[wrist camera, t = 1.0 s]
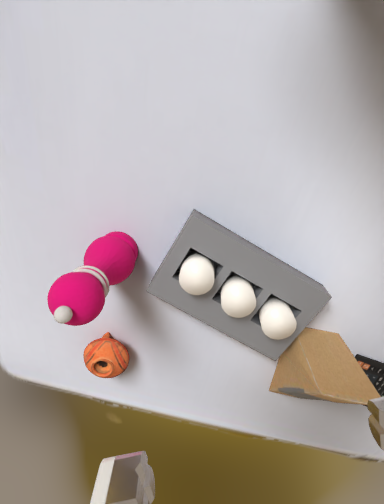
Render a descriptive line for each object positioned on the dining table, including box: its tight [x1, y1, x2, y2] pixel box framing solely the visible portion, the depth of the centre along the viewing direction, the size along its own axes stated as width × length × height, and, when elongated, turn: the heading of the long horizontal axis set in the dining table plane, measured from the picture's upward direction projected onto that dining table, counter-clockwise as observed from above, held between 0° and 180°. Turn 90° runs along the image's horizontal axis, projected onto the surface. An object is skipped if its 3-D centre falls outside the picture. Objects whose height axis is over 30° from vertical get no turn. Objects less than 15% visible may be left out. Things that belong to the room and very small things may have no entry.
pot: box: [84, 332, 129, 378], centre depth 52 cm, size 8×8×7 cm
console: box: [147, 209, 332, 361], centre depth 47 cm, size 15×24×4 cm, turn 60°
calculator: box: [355, 354, 384, 407], centre depth 53 cm, size 9×12×3 cm
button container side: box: [258, 296, 297, 340], centre depth 45 cm, size 5×5×4 cm
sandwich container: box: [269, 327, 381, 405], centre depth 47 cm, size 9×15×15 cm, turn 170°
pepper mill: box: [48, 232, 138, 326], centre depth 39 cm, size 7×7×20 cm
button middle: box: [220, 275, 256, 318], centre depth 45 cm, size 5×5×4 cm
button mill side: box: [179, 252, 214, 295], centre depth 44 cm, size 5×5×4 cm
